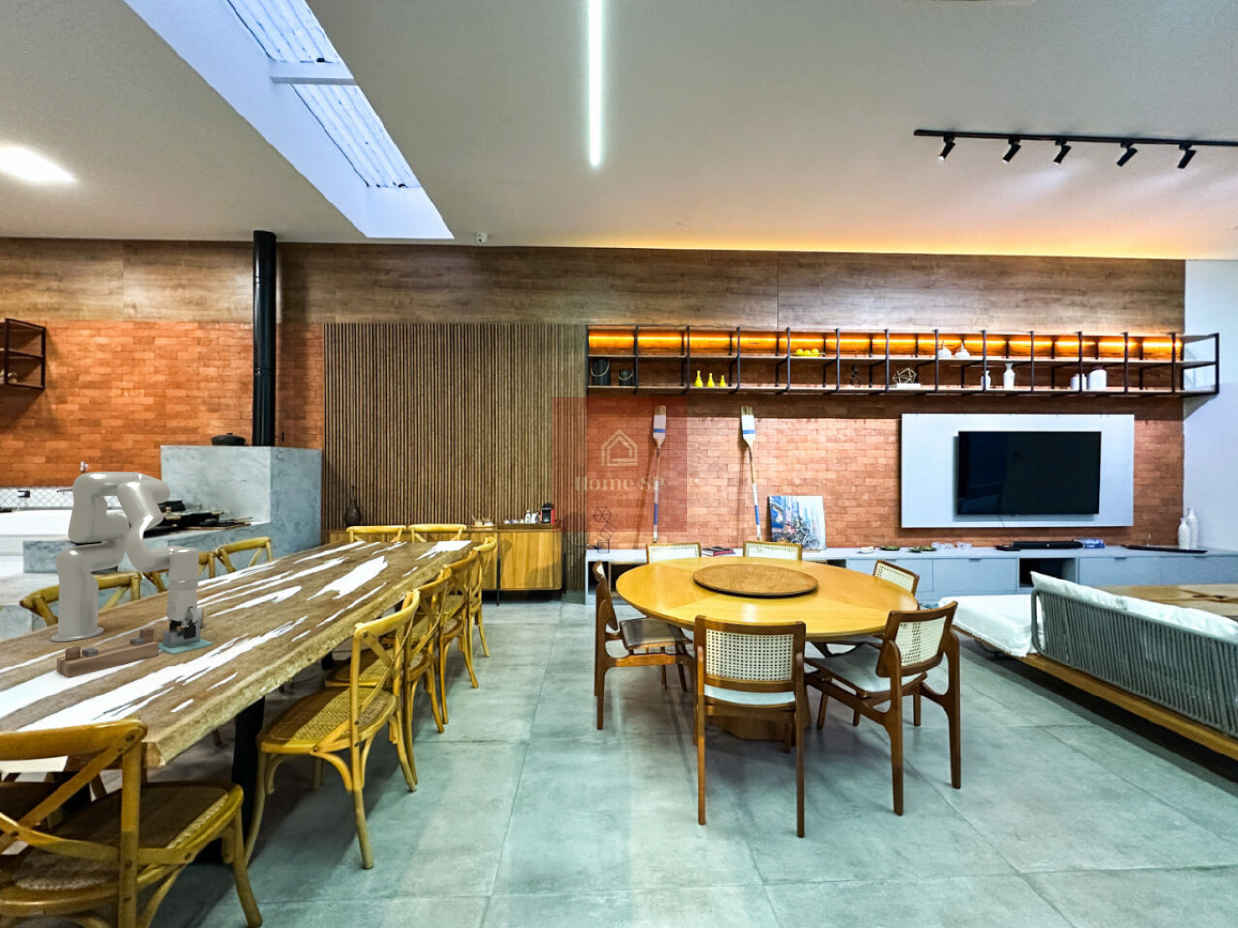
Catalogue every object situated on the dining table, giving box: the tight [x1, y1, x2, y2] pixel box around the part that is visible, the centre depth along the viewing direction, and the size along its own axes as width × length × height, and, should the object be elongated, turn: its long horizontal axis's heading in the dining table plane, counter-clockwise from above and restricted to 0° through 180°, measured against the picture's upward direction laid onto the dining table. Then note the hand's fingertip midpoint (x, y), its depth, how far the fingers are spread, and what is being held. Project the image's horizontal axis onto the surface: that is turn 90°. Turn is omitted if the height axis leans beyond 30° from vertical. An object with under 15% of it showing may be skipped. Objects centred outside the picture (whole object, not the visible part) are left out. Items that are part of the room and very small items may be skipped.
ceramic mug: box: [182, 607, 205, 628], centre depth 189 cm, size 11×8×8 cm
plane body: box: [56, 627, 159, 679], centre depth 154 cm, size 9×20×8 cm, turn 153°
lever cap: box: [162, 625, 201, 649], centre depth 170 cm, size 5×8×6 cm, turn 153°
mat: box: [158, 638, 214, 656], centre depth 170 cm, size 16×11×1 cm
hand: (182, 635), depth 170 cm, fingers open, 9 cm apart
